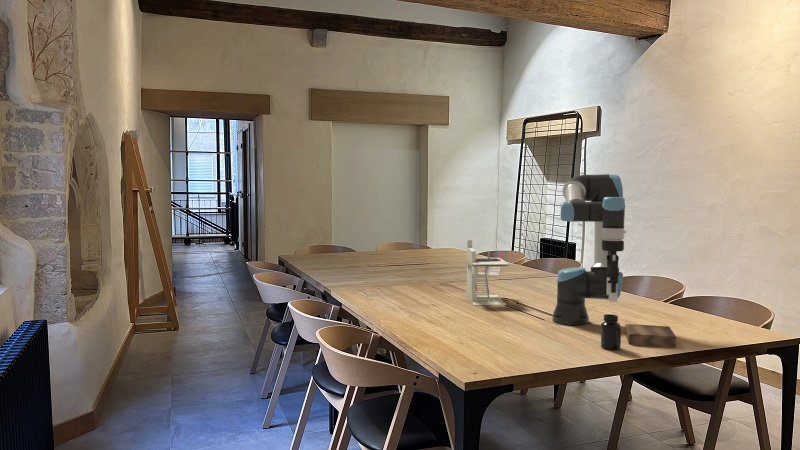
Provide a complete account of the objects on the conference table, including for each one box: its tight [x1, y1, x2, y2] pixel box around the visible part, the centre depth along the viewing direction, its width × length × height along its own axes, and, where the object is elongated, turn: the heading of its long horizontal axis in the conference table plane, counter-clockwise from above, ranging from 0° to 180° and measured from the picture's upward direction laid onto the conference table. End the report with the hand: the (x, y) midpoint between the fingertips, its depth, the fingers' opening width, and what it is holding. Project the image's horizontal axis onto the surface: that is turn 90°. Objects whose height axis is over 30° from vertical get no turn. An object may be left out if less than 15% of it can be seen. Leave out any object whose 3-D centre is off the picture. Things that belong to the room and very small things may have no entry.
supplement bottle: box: [600, 313, 622, 351], centre depth 214 cm, size 7×7×12 cm
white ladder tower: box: [466, 239, 510, 306], centre depth 303 cm, size 27×18×30 cm
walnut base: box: [624, 323, 677, 348], centre depth 225 cm, size 16×16×4 cm
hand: (611, 298), depth 213 cm, fingers open, 13 cm apart
